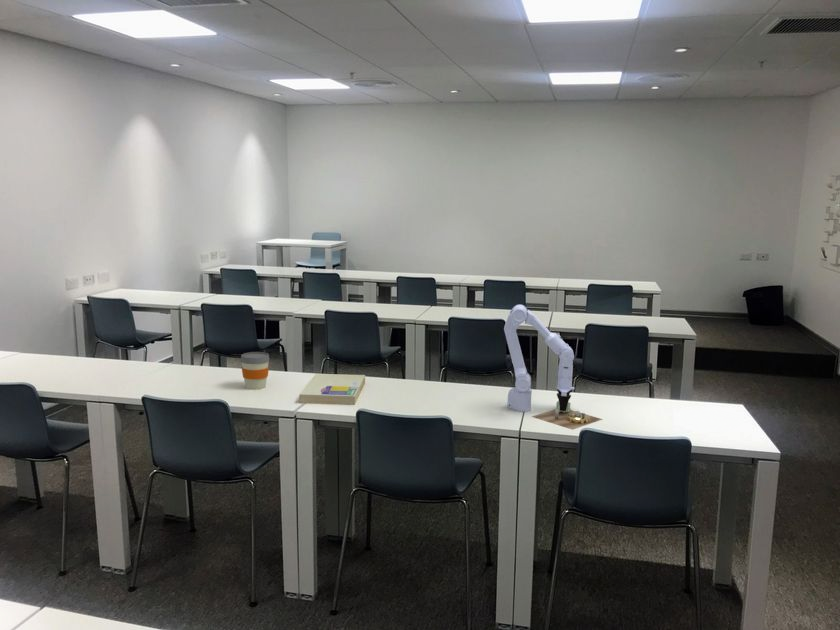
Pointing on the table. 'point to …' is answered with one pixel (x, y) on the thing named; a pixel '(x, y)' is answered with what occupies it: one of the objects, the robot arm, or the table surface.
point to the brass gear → (577, 418)
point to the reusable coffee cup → (255, 369)
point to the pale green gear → (559, 407)
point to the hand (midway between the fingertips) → (563, 408)
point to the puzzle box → (333, 389)
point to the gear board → (564, 418)
